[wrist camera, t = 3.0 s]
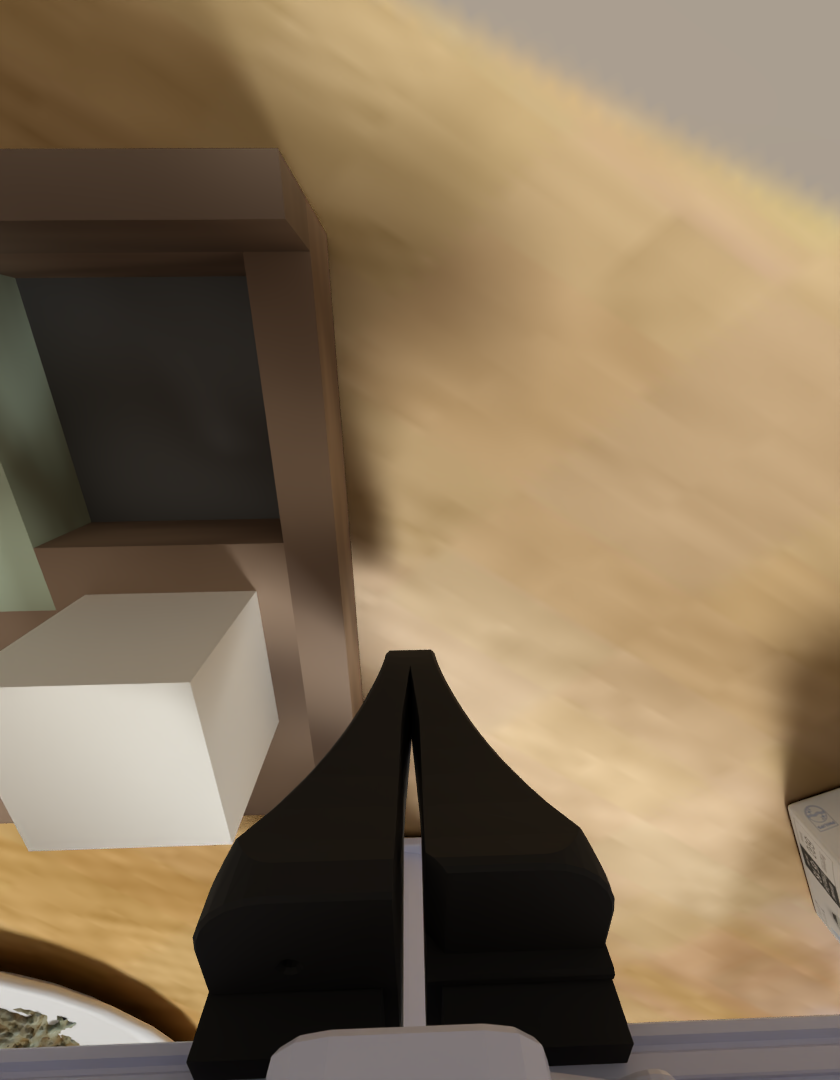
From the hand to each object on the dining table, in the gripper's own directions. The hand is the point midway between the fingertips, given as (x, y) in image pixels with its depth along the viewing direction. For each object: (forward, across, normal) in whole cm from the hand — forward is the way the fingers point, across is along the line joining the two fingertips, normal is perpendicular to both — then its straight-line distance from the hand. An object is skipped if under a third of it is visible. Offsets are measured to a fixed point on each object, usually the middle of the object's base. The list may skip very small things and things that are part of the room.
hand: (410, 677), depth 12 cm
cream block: (+1, +7, 0) cm, 7 cm away
